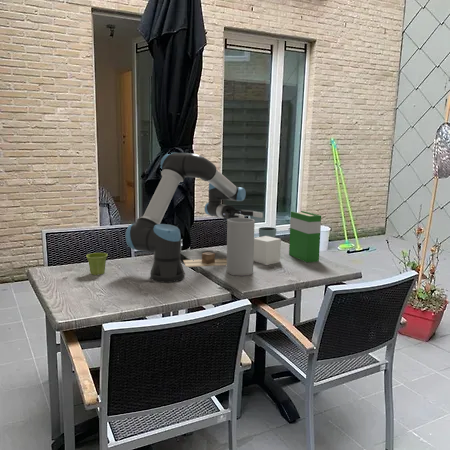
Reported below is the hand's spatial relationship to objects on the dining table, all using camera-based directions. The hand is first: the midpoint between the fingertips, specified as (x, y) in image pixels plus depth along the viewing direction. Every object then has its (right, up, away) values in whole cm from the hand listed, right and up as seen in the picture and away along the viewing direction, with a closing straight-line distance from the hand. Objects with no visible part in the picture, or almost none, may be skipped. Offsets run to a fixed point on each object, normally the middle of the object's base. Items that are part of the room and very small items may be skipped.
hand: (253, 216), depth 237 cm
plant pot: (-73, -27, -29) cm, 83 cm away
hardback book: (+27, -22, +6) cm, 36 cm away
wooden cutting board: (-23, -24, -9) cm, 34 cm away
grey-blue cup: (+10, -18, +25) cm, 33 cm away
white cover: (+6, -23, -3) cm, 24 cm away
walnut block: (-23, -23, -9) cm, 34 cm away
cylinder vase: (-8, -27, -24) cm, 37 cm away
